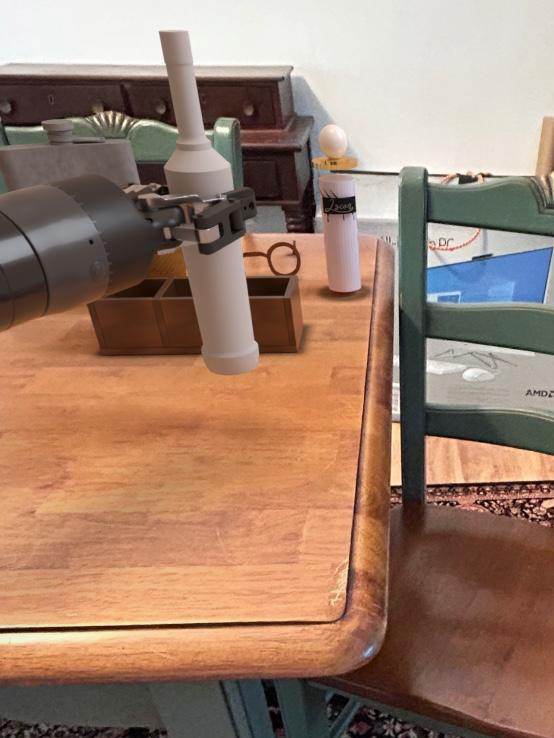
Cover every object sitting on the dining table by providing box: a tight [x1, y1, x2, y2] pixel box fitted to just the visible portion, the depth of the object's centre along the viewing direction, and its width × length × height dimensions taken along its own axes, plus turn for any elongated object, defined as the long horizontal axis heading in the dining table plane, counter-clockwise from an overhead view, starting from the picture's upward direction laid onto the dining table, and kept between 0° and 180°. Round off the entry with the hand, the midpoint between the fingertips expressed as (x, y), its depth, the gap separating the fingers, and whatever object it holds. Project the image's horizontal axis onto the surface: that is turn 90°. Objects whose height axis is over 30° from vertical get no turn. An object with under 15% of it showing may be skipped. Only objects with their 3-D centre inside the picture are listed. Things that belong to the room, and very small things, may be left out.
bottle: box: [158, 29, 260, 377], centre depth 61 cm, size 5×5×25 cm
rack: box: [86, 274, 305, 356], centre depth 87 cm, size 23×8×6 cm, turn 93°
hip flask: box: [0, 118, 142, 193], centre depth 97 cm, size 16×4×20 cm, turn 114°
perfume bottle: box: [311, 123, 362, 293], centre depth 97 cm, size 6×6×20 cm
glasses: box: [242, 239, 302, 276], centre depth 109 cm, size 13×13×5 cm
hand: (224, 196), depth 62 cm, fingers closed on bottle, 5 cm apart
